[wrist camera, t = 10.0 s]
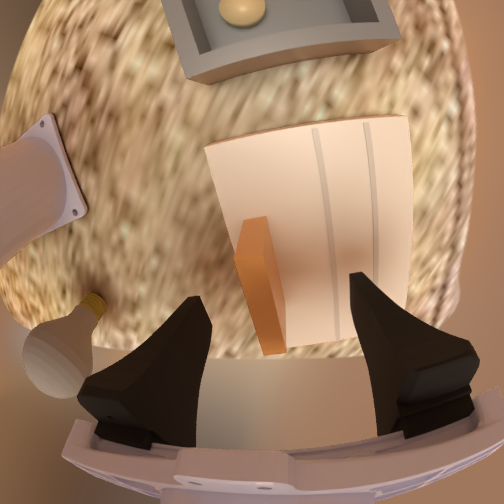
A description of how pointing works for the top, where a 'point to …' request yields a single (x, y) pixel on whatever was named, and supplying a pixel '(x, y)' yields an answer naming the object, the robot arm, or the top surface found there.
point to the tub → (272, 33)
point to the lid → (316, 221)
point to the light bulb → (63, 349)
